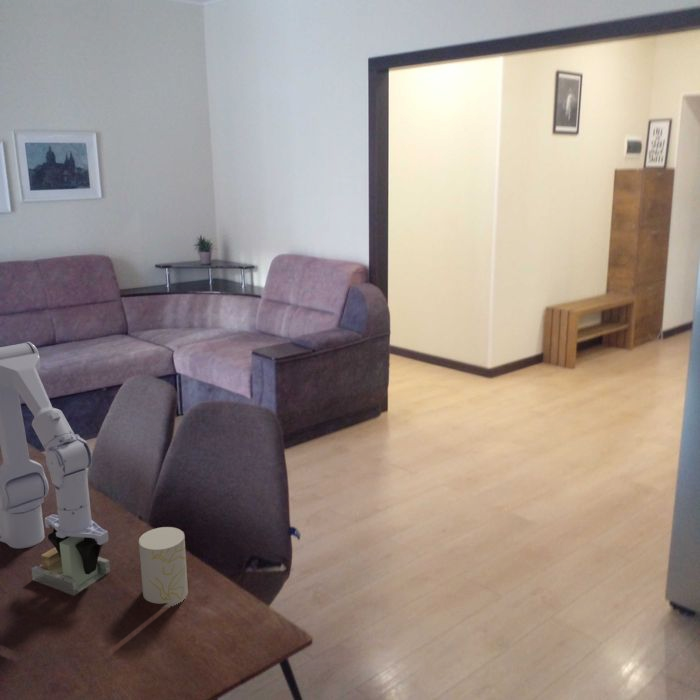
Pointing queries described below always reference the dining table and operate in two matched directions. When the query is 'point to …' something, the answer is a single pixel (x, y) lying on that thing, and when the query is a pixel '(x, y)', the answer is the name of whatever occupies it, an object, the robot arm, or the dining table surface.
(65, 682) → the dining table surface
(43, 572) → the rack
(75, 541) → the sage green tall pillar
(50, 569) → the offcut stack
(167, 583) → the cup
